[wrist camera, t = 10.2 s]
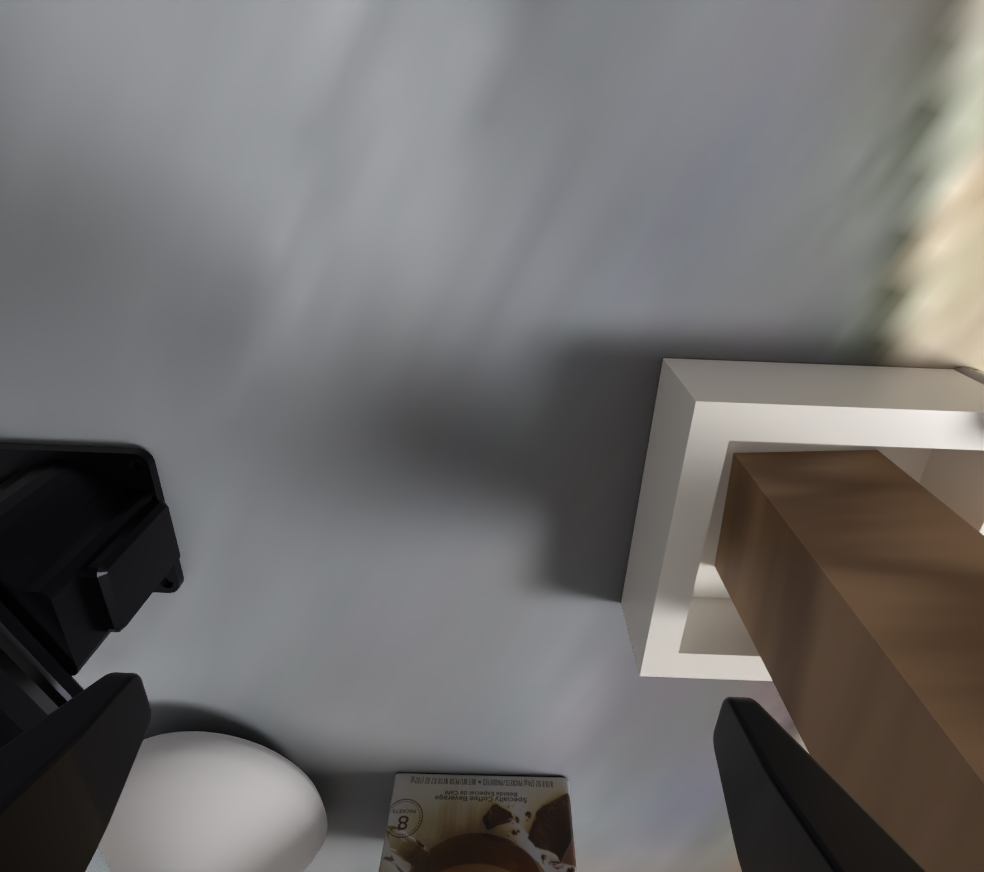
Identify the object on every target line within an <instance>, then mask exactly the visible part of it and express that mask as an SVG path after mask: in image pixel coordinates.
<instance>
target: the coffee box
mask: <svg viewBox="0 0 984 872" xmlns="http://www.w3.org/2000/svg"><path fill="white" fill-rule="evenodd" d="M379 872H577V871H576V860H575V849H574V839H573V829H572V816H571V804H570V789H569V780H568V779H566V778H560V777H517V776H480V775H444V774H409V773H398V774H396V776H395V780H394V786H393V792H392V798H391V803H390V810H389V816H388V822H387V828H386V834H385V839H384V845H383V851H382V856H381V861H380V867H379Z"/></svg>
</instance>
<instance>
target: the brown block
mask: <svg viewBox="0 0 984 872" xmlns="http://www.w3.org/2000/svg"><path fill="white" fill-rule="evenodd" d="M715 568H716V570H717V572H718V574H719V576H720V578H721V580H722V582H723V584H724V586H725V588H726V590H727V592H728V594H729V596H730V598H731V600H732V602H733V604H734V606H735V608H736V610H737V611H738V613H739V615H740V617H741V619H742V621H743V623H744V625H745V627H746V629H747V631H748V633H749V635H750V637H751V639H752V641H753V643H754V645H755V647H756V649H757V651H758V653H759V655H760V657H761V659H762V661H763V663H764V665H765V667H766V669H767V671H768V673H769V675H770V677H771V679H772V681H773V683H774V685H775V686H776V688H777V690H778V692H779V694H780V696H781V698H782V700H783V702H784V704H785V706H786V708H787V710H788V712H789V714H790V716H791V718H792V720H793V722H794V724H795V726H796V728H797V730H798V732H799V734H800V736H801V738H802V740H803V742H804V744H805V746H806V748H807V750H808V752H809V754H810V756H811V757H812V758H813V759H814V760H815V761H816V762H817V763H818V764H819V765H820V766H821V767H822V768H823V769H824V770H825V771H826V772H827V773H828V774H829V775H830V776H831V777H832V778H833V779H834V780H835V781H836V782H837V783H838V784H839V785H840V786H841V787H842V788H843V789H844V790H845V791H846V792H847V793H848V794H849V795H850V796H851V797H852V798H853V799H854V800H855V801H856V802H857V803H858V804H859V805H860V806H861V807H862V808H863V809H864V810H865V811H866V812H867V813H868V814H869V815H870V816H871V817H872V818H873V819H874V820H875V821H876V822H877V823H878V824H879V825H880V826H881V827H882V828H883V829H884V830H885V831H886V832H887V833H888V834H889V835H890V836H891V837H892V838H893V839H894V840H895V841H896V842H897V843H898V844H899V845H900V846H901V847H902V848H903V849H904V850H905V851H906V852H907V853H908V854H909V855H910V856H911V857H912V858H913V859H914V860H915V861H916V862H917V863H918V864H919V865H920V866H921V867H922V868H923V869H924V870H925V871H926V872H984V535H982V534H981V533H980V532H979V531H977V530H976V529H975V528H974V527H972V526H971V525H970V524H969V523H967V522H966V521H965V520H964V519H963V518H961V517H960V516H959V515H958V514H956V513H955V512H954V511H953V510H951V509H950V508H949V507H948V506H946V505H945V504H944V503H943V502H941V501H940V500H939V499H938V498H936V497H935V496H934V495H933V494H932V493H930V492H929V491H928V490H927V489H925V488H924V487H923V486H922V485H920V484H919V483H918V482H917V481H915V480H914V479H913V478H912V477H910V476H909V475H908V474H907V473H906V472H904V471H903V470H902V469H901V468H899V467H898V466H897V465H896V464H894V463H893V462H892V461H891V460H889V459H888V458H887V457H886V456H884V455H883V454H882V453H881V452H880V451H878V450H845V451H798V452H751V453H733V459H732V465H731V471H730V476H729V482H728V488H727V494H726V500H725V506H724V512H723V518H722V524H721V530H720V536H719V542H718V548H717V554H716V560H715Z"/></svg>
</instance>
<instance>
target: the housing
mask: <svg viewBox="0 0 984 872" xmlns="http://www.w3.org/2000/svg"><path fill="white" fill-rule="evenodd" d="M845 450H878V451H880V452H881V453H882V454H883V455H884V456H886V457H887V458H888V459H889V460H891V461H892V462H893V463H894V464H896V465H897V466H898V467H899V468H901V469H902V470H903V471H904V472H906V473H907V474H908V475H909V476H910V477H912V478H913V479H914V480H915V481H917V482H918V483H919V484H920V485H922V486H923V487H924V488H925V489H927V490H928V491H929V492H930V493H932V494H933V495H934V496H935V497H936V498H938V499H939V500H940V501H941V502H943V503H944V504H945V505H946V506H948V507H949V508H950V509H951V510H953V511H954V512H955V513H956V514H958V515H959V516H960V517H961V518H963V519H964V520H965V521H966V522H967V523H969V524H970V525H971V526H972V527H974V528H975V529H976V530H977V531H979V532H980V533H981V534H982V535H984V372H983V371H981V370H973V369H971V368H968V367H959V368H955V369H930V368H904V367H879V366H853V365H827V364H801V363H775V362H750V361H724V360H698V359H672V358H663V362H662V367H661V373H660V379H659V385H658V391H657V397H656V402H655V408H654V414H653V420H652V426H651V431H650V437H649V443H648V449H647V455H646V461H645V466H644V472H643V478H642V484H641V490H640V496H639V501H638V507H637V513H636V519H635V525H634V531H633V536H632V542H631V548H630V554H629V560H628V566H627V571H626V577H625V583H624V589H623V595H622V601H621V606H622V610H623V613H624V617H625V621H626V625H627V629H628V633H629V636H630V640H631V644H632V648H633V652H634V656H635V659H636V663H637V667H638V671H639V675H640V676H651V677H678V678H704V679H731V680H757V681H772V679H771V677H770V675H769V673H768V671H767V669H766V667H765V665H764V663H763V661H762V659H761V657H760V655H759V653H758V651H757V649H756V647H755V645H754V643H753V641H752V639H751V637H750V635H749V633H748V631H747V629H746V627H745V625H744V623H743V621H742V619H741V617H740V615H739V613H738V611H737V610H736V608H735V606H734V604H733V602H732V600H731V598H730V596H729V594H728V592H727V590H726V588H725V586H724V584H723V582H722V580H721V578H720V576H719V574H718V572H717V570H716V568H715V560H716V554H717V548H718V542H719V536H720V530H721V524H722V518H723V512H724V506H725V500H726V494H727V488H728V482H729V476H730V471H731V465H732V459H733V453H751V452H798V451H845Z"/></svg>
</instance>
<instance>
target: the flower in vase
mask: <svg viewBox="0 0 984 872" xmlns="http://www.w3.org/2000/svg"><path fill="white" fill-rule="evenodd" d="M327 828H328V821H327V815H326V811H325V808H324V805H323V802H322V800H321V797H320V794H319V792H318V790H317V789H316V787H315V785H314V784H313V782H312V781H311V780H310V779H309V777H308V776H307V775H306V774H305V773H304V772H303V771H302V770H301V769H300V768H299V767H297V766H296V765H295V764H293V763H292V762H291V761H289V760H288V759H286V758H285V757H283V756H281V755H280V754H278V753H276V752H275V751H273V750H270V749H268V748H266V747H264V746H262V745H259V744H257V743H254V742H251V741H249V740H245V739H242V738H238V737H235V736H230V735H225V734H220V733H212V732H201V731H184V732H172V733H166V734H160V735H157V736H153V737H149V738H147V739H144V740H143V741H142V744H141V746H140V749H139V751H138V754H137V756H136V759H135V761H134V764H133V766H132V768H131V771H130V773H129V776H128V778H127V781H126V783H125V786H124V788H123V791H122V793H121V795H120V798H119V800H118V803H117V805H116V808H115V810H114V813H113V815H112V817H111V820H110V822H109V824H108V826H107V829H106V831H105V833H104V835H103V837H102V839H101V841H100V843H99V845H98V846H99V848H100V851H101V853H102V855H103V857H104V859H105V861H106V863H107V866H108V868H109V870H110V872H303V871H304V870H305V869H306V868H307V867H308V866H309V864H310V863H311V862H312V860H313V859H314V857H315V856H316V854H317V853H318V851H319V850H320V848H321V846H322V844H323V842H324V841H325V838H326V834H327Z"/></svg>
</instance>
